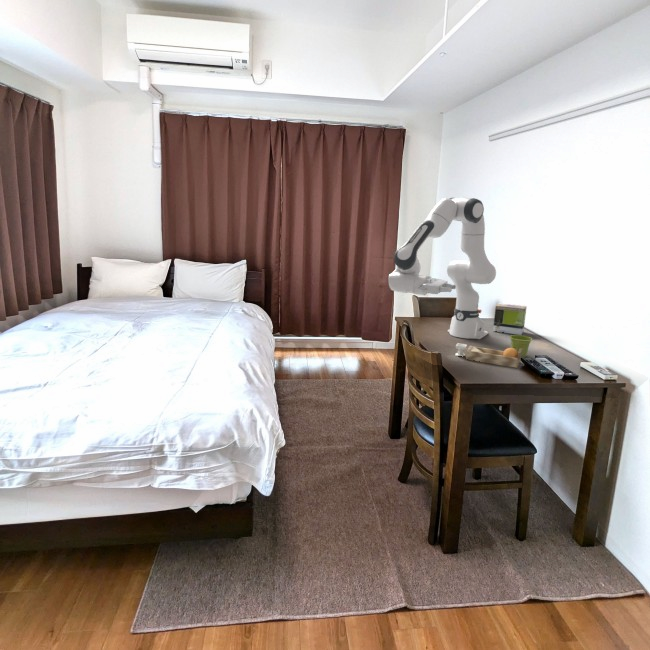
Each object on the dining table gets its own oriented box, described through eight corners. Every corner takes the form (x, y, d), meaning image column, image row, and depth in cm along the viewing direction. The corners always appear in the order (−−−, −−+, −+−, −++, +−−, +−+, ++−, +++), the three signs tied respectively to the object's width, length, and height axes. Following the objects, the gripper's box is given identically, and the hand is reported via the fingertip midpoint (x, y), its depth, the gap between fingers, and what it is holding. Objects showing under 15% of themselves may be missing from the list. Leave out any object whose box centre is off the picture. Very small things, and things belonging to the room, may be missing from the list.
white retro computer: (523, 331, 265) (527, 305, 262) (521, 335, 256) (525, 308, 253) (495, 327, 272) (498, 302, 268) (492, 331, 263) (495, 305, 260)
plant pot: (516, 359, 215) (519, 340, 212) (503, 353, 223) (505, 335, 221) (533, 358, 217) (536, 340, 215) (520, 352, 226) (522, 334, 224)
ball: (511, 360, 211) (504, 348, 212) (523, 355, 207) (515, 343, 208) (506, 365, 207) (498, 354, 208) (517, 360, 203) (509, 348, 204)
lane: (465, 359, 212) (467, 345, 210) (469, 354, 219) (470, 340, 218) (518, 368, 203) (520, 353, 201) (520, 362, 210) (522, 348, 209)
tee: (454, 356, 216) (455, 345, 215) (456, 353, 220) (457, 343, 219) (464, 357, 214) (465, 346, 213) (466, 355, 218) (467, 344, 217)
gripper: (417, 281, 208) (449, 284, 202) (428, 275, 226) (458, 278, 220) (415, 295, 210) (447, 299, 204) (427, 289, 228) (457, 292, 222)
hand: (453, 288), depth 212 cm, fingers open, 8 cm apart
